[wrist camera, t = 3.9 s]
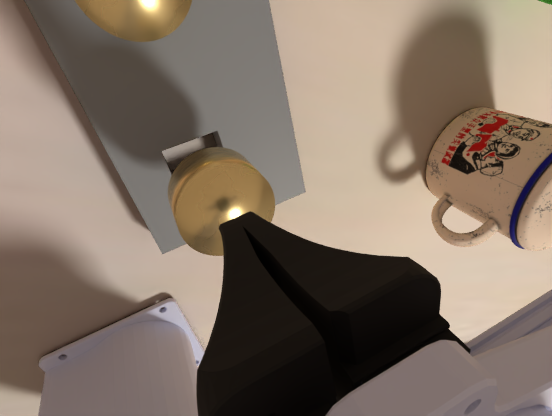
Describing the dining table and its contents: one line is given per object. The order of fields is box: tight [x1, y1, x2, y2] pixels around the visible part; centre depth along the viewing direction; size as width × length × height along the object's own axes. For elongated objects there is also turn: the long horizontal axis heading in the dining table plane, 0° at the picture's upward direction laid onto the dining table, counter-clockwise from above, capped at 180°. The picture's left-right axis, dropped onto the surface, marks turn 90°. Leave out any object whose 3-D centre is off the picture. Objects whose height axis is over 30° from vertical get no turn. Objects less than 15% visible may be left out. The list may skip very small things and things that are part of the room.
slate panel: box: [24, 0, 306, 254], centre depth 17 cm, size 10×22×2 cm, turn 13°
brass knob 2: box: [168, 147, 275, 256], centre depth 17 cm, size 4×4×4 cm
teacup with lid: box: [426, 107, 552, 251], centre depth 26 cm, size 12×9×12 cm
